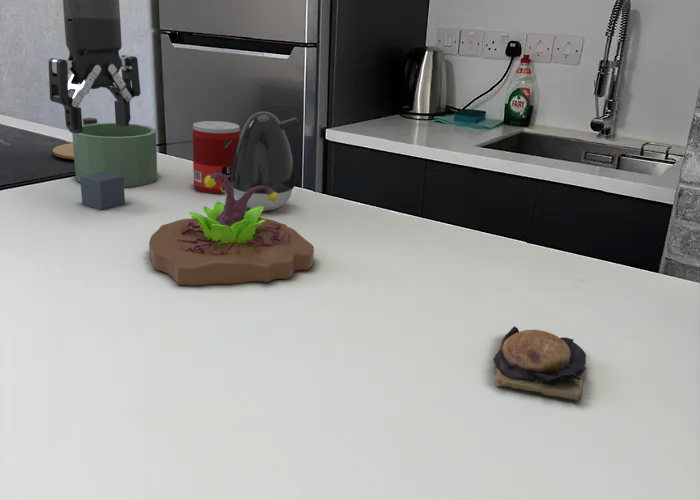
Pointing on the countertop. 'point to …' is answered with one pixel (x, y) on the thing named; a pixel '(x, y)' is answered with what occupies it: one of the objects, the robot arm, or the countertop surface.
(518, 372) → the toy sandwich
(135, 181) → the tin
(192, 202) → the countertop surface
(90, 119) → the lid
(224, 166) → the canned food
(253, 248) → the plant
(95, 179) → the block
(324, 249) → the countertop surface
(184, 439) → the countertop surface
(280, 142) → the pump dispenser
